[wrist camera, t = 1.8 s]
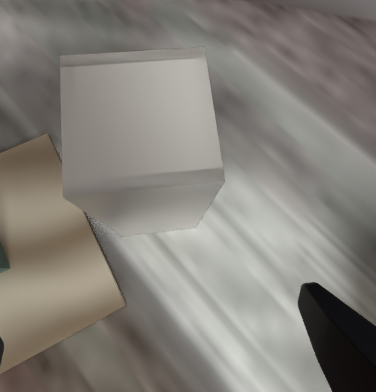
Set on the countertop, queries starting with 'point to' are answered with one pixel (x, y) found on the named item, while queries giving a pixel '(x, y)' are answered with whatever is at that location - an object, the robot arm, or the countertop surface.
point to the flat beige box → (46, 257)
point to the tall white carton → (140, 138)
